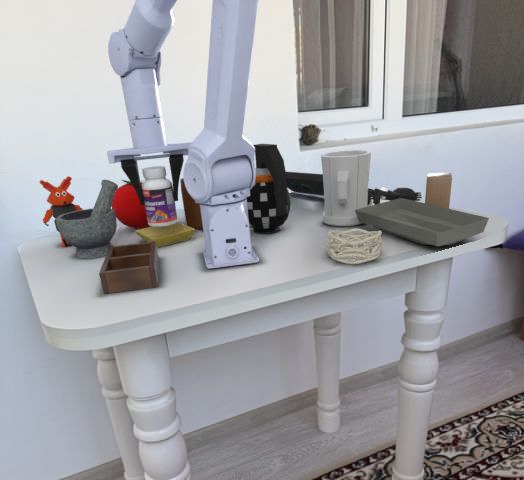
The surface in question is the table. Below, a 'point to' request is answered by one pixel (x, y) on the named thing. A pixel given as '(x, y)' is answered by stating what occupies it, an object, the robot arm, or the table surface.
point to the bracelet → (344, 242)
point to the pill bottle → (158, 197)
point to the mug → (191, 209)
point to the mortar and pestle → (91, 225)
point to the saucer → (166, 234)
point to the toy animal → (59, 203)
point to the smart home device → (305, 183)
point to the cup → (345, 186)
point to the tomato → (129, 207)
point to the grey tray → (422, 221)
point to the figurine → (392, 194)
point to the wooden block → (438, 189)
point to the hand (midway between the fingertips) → (159, 202)
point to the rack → (130, 267)
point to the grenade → (268, 191)
